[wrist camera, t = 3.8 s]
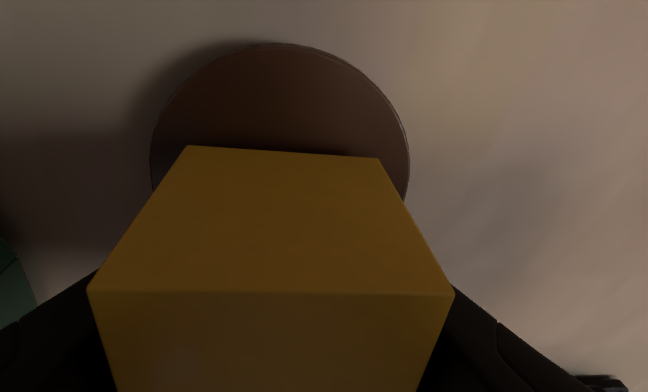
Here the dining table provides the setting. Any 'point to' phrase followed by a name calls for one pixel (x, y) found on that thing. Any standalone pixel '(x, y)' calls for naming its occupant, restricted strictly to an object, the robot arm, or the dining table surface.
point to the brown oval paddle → (282, 110)
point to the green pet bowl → (13, 287)
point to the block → (270, 280)
